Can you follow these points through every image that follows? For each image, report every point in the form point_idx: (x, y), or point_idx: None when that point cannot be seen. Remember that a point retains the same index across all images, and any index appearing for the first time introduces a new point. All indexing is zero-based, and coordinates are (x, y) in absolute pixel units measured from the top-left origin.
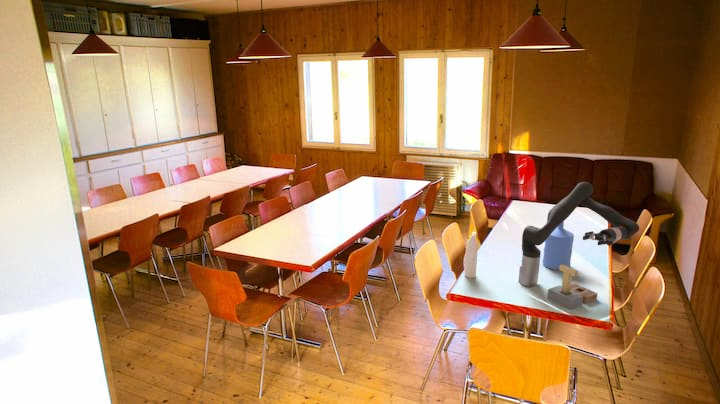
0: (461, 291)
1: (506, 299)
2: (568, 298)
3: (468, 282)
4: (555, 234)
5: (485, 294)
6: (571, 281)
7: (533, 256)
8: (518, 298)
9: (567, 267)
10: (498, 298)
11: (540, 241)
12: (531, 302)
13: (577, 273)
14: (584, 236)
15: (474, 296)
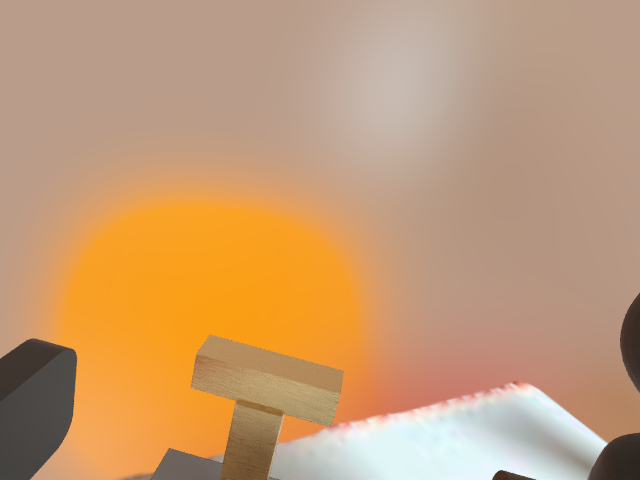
0: (539, 403)
1: (423, 435)
2: (191, 456)
3: None
4: None
5: (492, 427)
6: (223, 462)
7: (596, 462)
8: (407, 470)
9: (283, 366)
10: (443, 426)
11: (634, 340)
12: (347, 470)
13: (194, 372)
14: (508, 473)
15: (490, 398)
